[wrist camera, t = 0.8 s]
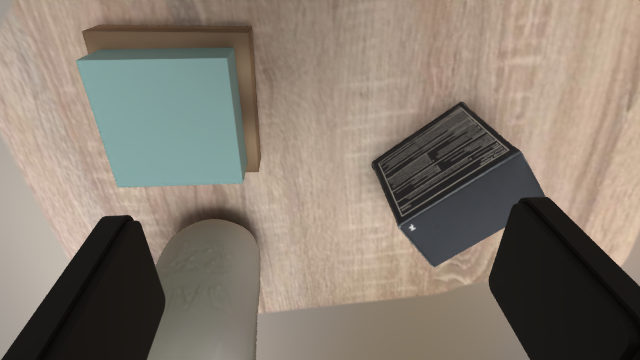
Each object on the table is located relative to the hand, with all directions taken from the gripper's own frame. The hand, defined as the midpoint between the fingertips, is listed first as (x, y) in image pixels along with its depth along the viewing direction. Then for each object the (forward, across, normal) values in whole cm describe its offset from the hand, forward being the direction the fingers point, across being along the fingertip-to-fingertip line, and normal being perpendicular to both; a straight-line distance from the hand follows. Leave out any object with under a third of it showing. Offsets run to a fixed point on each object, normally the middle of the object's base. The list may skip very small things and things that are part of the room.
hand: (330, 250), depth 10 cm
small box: (+26, -12, +11) cm, 31 cm away
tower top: (+23, +10, +5) cm, 25 cm away
